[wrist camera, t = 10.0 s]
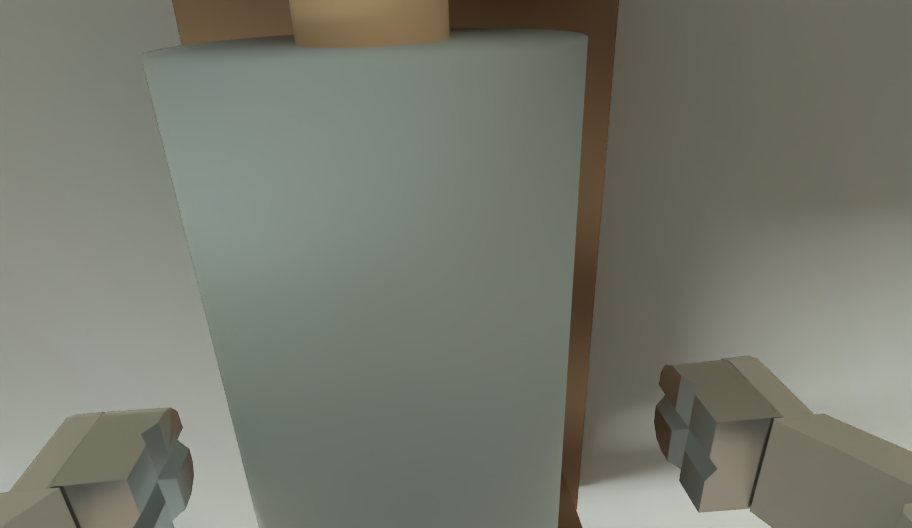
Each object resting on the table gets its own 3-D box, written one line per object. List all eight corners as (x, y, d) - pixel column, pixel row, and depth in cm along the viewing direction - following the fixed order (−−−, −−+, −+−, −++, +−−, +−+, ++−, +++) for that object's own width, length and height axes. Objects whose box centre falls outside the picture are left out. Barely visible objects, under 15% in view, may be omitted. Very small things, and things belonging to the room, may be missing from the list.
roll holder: (569, 489, 19) (677, 791, 12) (293, 517, 18) (228, 856, 11) (615, -121, 12) (964, -305, 5) (161, -113, 11) (-269, -316, 4)
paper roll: (284, -109, 10) (-69, -199, 5) (619, -143, 8) (558, -320, 3) (373, 555, 17) (260, 778, 12) (563, 608, 15) (518, 890, 10)
